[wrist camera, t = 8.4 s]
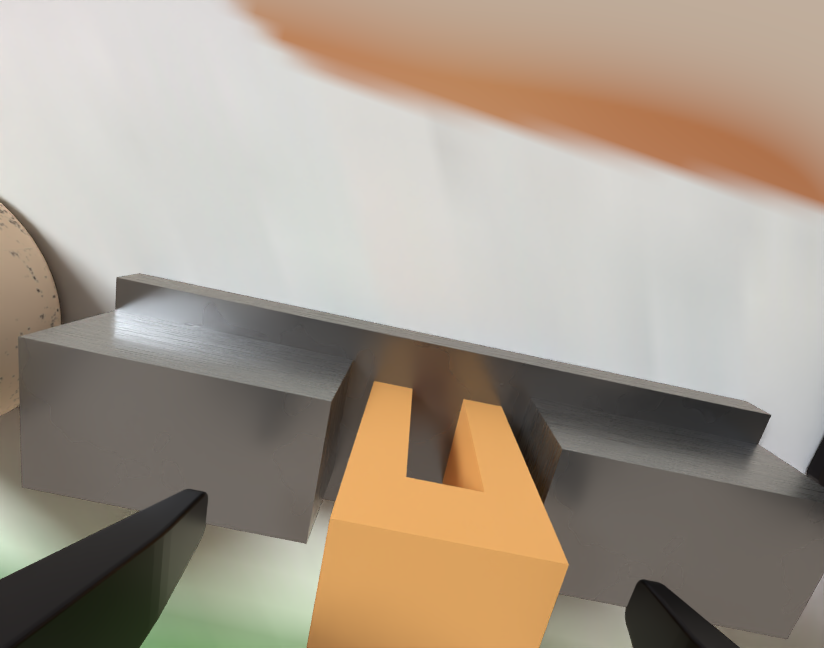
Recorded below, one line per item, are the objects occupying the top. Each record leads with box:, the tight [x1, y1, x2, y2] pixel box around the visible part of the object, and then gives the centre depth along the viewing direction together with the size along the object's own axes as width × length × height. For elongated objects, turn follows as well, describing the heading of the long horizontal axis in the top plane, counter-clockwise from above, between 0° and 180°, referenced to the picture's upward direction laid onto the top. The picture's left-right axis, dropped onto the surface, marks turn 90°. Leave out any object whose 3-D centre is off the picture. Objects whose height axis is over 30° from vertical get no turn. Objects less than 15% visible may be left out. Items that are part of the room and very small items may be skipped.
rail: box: [18, 273, 824, 639], centre depth 12 cm, size 20×6×4 cm, turn 78°
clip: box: [307, 381, 569, 648], centre depth 10 cm, size 4×3×6 cm
